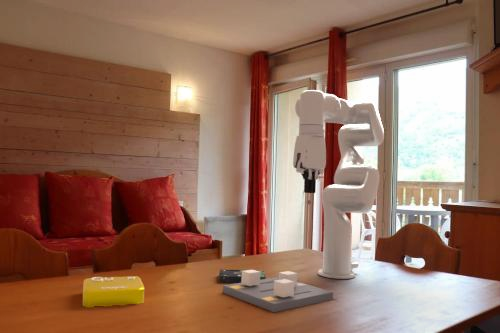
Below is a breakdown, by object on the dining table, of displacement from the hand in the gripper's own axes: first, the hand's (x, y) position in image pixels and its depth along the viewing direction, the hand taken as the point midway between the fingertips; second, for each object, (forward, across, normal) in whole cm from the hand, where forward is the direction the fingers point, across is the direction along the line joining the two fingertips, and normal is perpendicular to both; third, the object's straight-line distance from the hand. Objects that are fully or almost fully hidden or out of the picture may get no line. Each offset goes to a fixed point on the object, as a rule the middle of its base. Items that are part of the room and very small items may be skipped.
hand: (309, 192), depth 133 cm
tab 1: (+27, +16, -7) cm, 32 cm away
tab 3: (+27, +16, +7) cm, 32 cm away
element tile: (+30, +51, -22) cm, 63 cm away
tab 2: (+27, +8, 0) cm, 28 cm away
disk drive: (+30, +8, -21) cm, 37 cm away
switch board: (+29, +12, 0) cm, 31 cm away
